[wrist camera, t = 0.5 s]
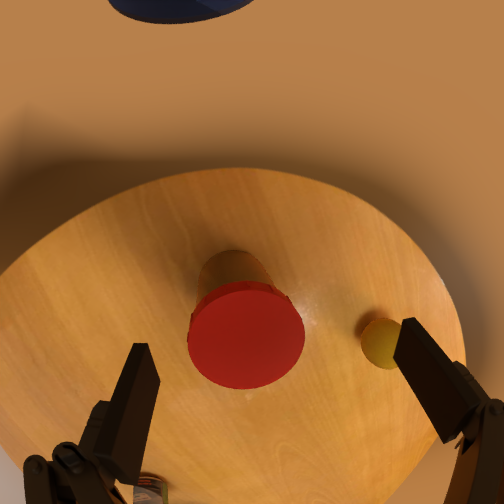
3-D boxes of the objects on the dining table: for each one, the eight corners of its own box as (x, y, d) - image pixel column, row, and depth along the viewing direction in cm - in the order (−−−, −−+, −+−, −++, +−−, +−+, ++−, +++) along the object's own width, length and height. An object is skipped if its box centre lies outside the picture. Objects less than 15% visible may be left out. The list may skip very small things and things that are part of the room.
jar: (224, 236, 29) (234, 270, 18) (281, 275, 31) (318, 325, 20) (185, 292, 30) (173, 353, 19) (240, 326, 31) (256, 394, 20)
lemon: (345, 322, 33) (377, 356, 26) (382, 300, 33) (420, 328, 26) (356, 353, 35) (385, 389, 27) (390, 333, 35) (424, 363, 27)
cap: (231, 257, 19) (233, 265, 17) (318, 316, 21) (327, 327, 19) (168, 344, 20) (165, 358, 18) (255, 389, 22) (258, 403, 20)
